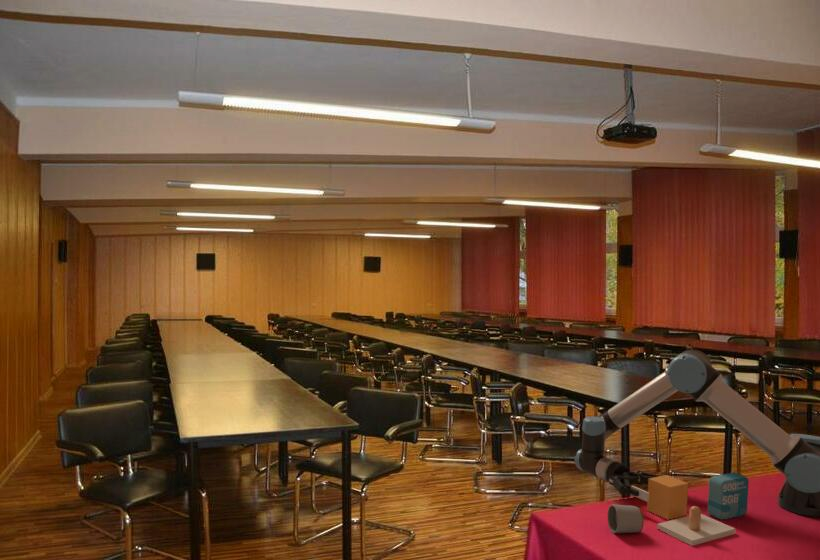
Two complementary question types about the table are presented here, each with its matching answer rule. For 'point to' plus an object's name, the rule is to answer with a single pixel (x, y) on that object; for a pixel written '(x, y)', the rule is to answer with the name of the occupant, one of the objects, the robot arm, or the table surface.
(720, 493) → the data package
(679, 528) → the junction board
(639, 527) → the ceramic mug
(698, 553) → the table surface
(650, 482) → the tall orange block
